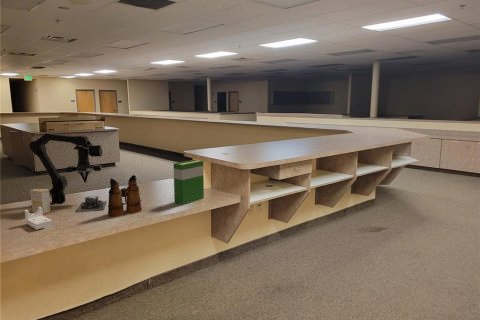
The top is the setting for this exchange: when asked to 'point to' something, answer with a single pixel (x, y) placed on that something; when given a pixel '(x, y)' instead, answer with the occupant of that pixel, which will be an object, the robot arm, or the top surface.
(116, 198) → the binoculars
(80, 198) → the top surface
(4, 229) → the top surface
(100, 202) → the barrel plate
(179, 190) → the hardback book
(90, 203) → the domed button housing
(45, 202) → the supplement box
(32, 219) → the bracket
